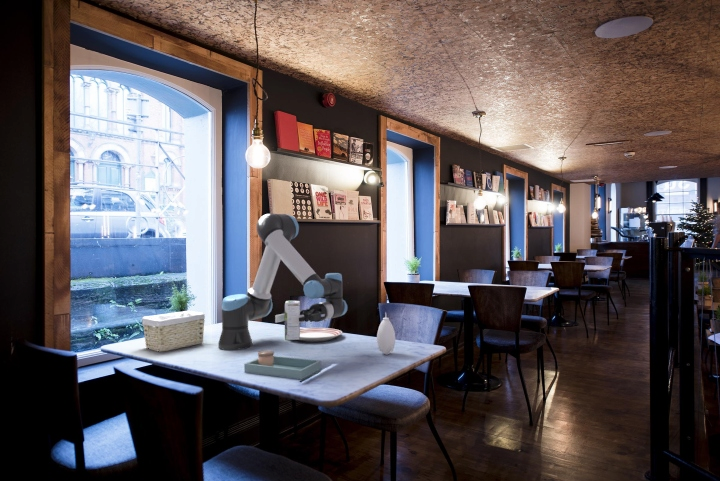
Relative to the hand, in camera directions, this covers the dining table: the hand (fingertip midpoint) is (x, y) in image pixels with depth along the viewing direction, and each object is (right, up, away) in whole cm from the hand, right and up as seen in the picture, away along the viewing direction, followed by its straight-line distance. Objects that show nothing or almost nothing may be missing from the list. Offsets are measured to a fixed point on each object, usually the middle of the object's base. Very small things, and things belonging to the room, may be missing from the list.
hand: (284, 319), depth 181 cm
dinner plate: (+6, -19, +55) cm, 58 cm away
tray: (+1, -18, -7) cm, 20 cm away
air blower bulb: (+40, -18, +20) cm, 49 cm away
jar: (-6, -17, -4) cm, 19 cm away
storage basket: (-58, -19, +40) cm, 73 cm away
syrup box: (+3, -8, +4) cm, 10 cm away
